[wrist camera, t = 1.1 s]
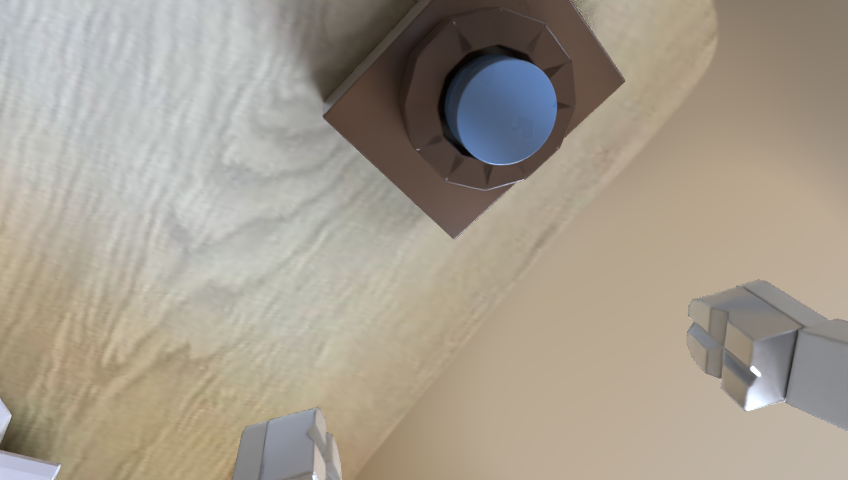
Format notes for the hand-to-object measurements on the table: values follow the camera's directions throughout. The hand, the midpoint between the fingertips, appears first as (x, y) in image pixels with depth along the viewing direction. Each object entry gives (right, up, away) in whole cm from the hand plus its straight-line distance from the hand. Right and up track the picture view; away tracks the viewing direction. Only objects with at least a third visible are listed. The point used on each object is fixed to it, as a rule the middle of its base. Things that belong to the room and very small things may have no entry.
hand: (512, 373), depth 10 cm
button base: (0, +10, +12) cm, 16 cm away
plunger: (+1, +8, +8) cm, 11 cm away
